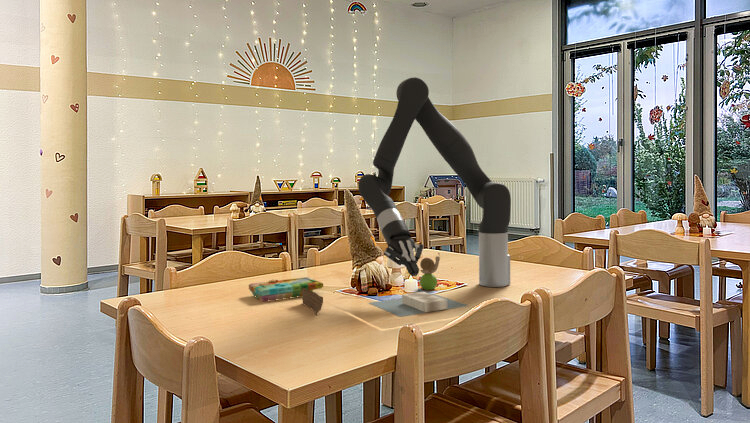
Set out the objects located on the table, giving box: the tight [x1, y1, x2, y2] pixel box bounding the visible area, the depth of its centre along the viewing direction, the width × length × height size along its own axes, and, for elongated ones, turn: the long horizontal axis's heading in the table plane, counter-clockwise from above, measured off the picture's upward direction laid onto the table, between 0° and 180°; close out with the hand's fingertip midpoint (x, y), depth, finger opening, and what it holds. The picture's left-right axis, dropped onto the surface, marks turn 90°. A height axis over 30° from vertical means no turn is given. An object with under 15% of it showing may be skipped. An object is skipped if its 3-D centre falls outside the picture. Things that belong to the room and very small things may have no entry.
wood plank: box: [301, 288, 324, 316], centre depth 161 cm, size 15×2×5 cm, turn 27°
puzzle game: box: [248, 277, 324, 302], centre depth 179 cm, size 12×5×20 cm
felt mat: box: [368, 293, 470, 318], centre depth 162 cm, size 22×18×1 cm
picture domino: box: [401, 291, 448, 313], centre depth 159 cm, size 7×3×12 cm
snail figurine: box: [419, 252, 441, 291], centre depth 181 cm, size 5×6×12 cm
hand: (415, 274), depth 162 cm, fingers closed
